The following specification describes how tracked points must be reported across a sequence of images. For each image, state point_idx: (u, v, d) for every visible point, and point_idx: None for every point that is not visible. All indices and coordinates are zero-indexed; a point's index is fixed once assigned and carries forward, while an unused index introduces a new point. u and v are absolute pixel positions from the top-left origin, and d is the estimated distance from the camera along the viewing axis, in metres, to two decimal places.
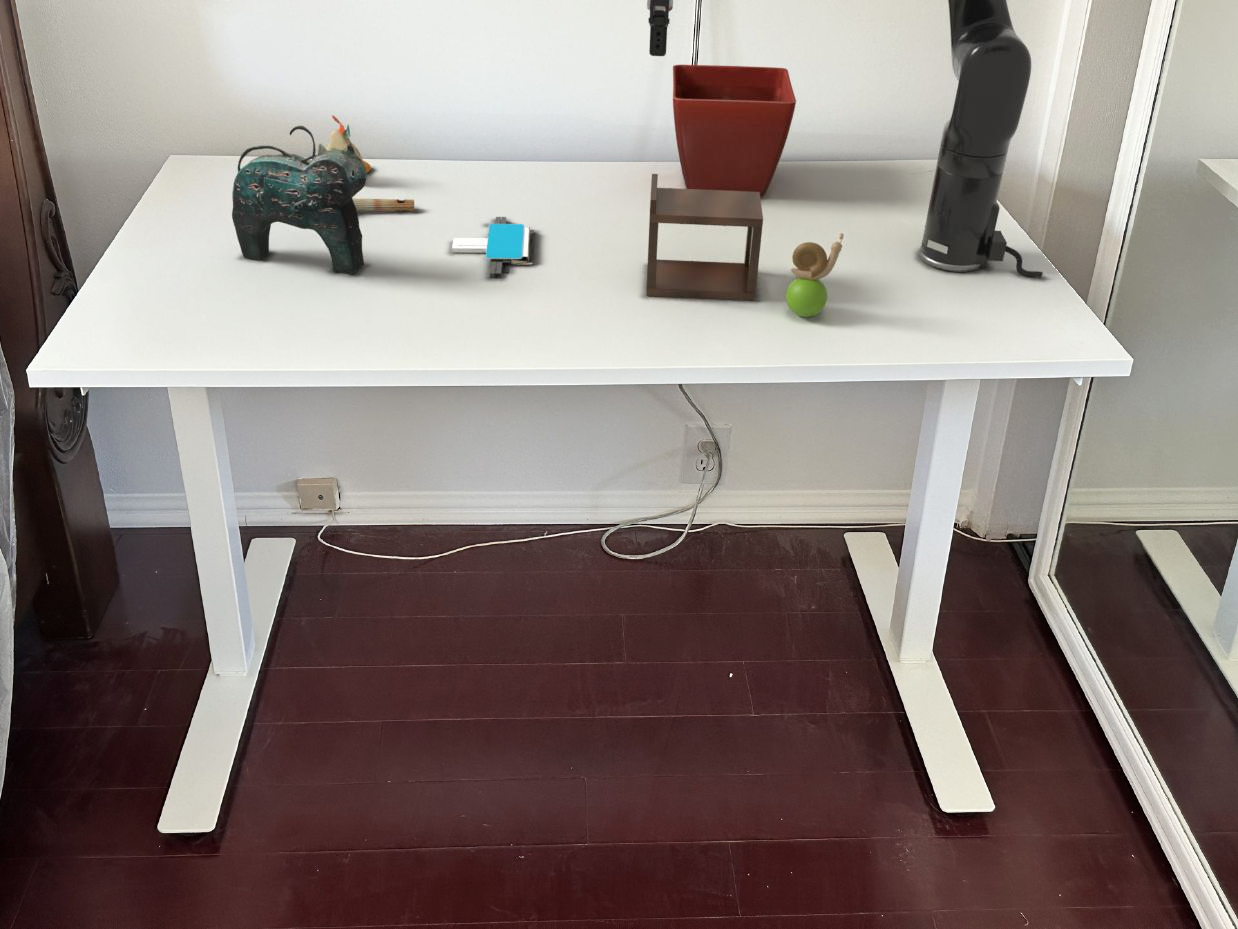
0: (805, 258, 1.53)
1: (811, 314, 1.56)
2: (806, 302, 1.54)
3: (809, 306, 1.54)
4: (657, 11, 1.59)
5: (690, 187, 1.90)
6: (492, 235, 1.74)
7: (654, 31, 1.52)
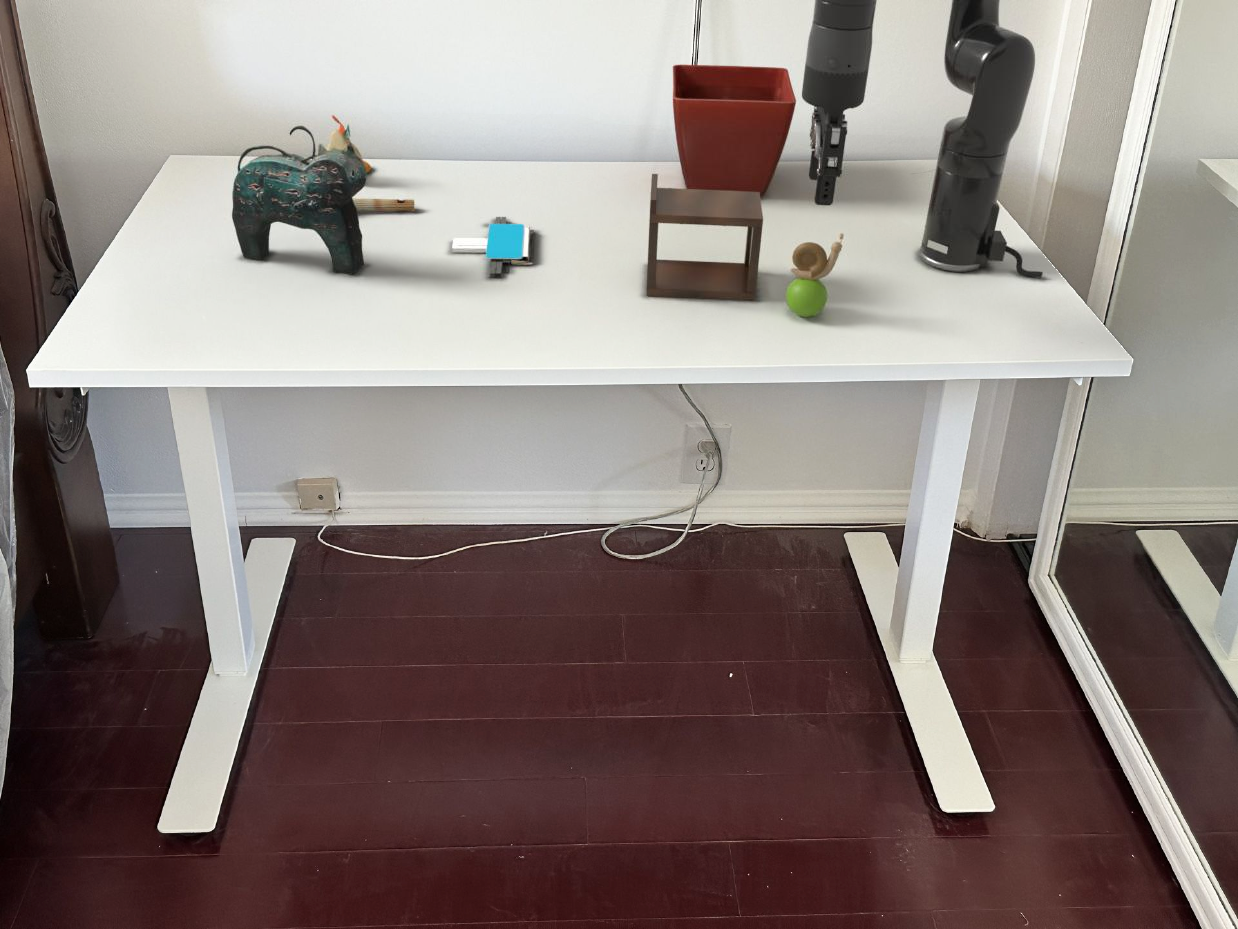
0: (805, 258, 1.53)
1: (811, 314, 1.56)
2: (806, 302, 1.54)
3: (809, 306, 1.54)
4: None
5: (690, 187, 1.90)
6: (492, 235, 1.74)
7: (823, 181, 1.42)
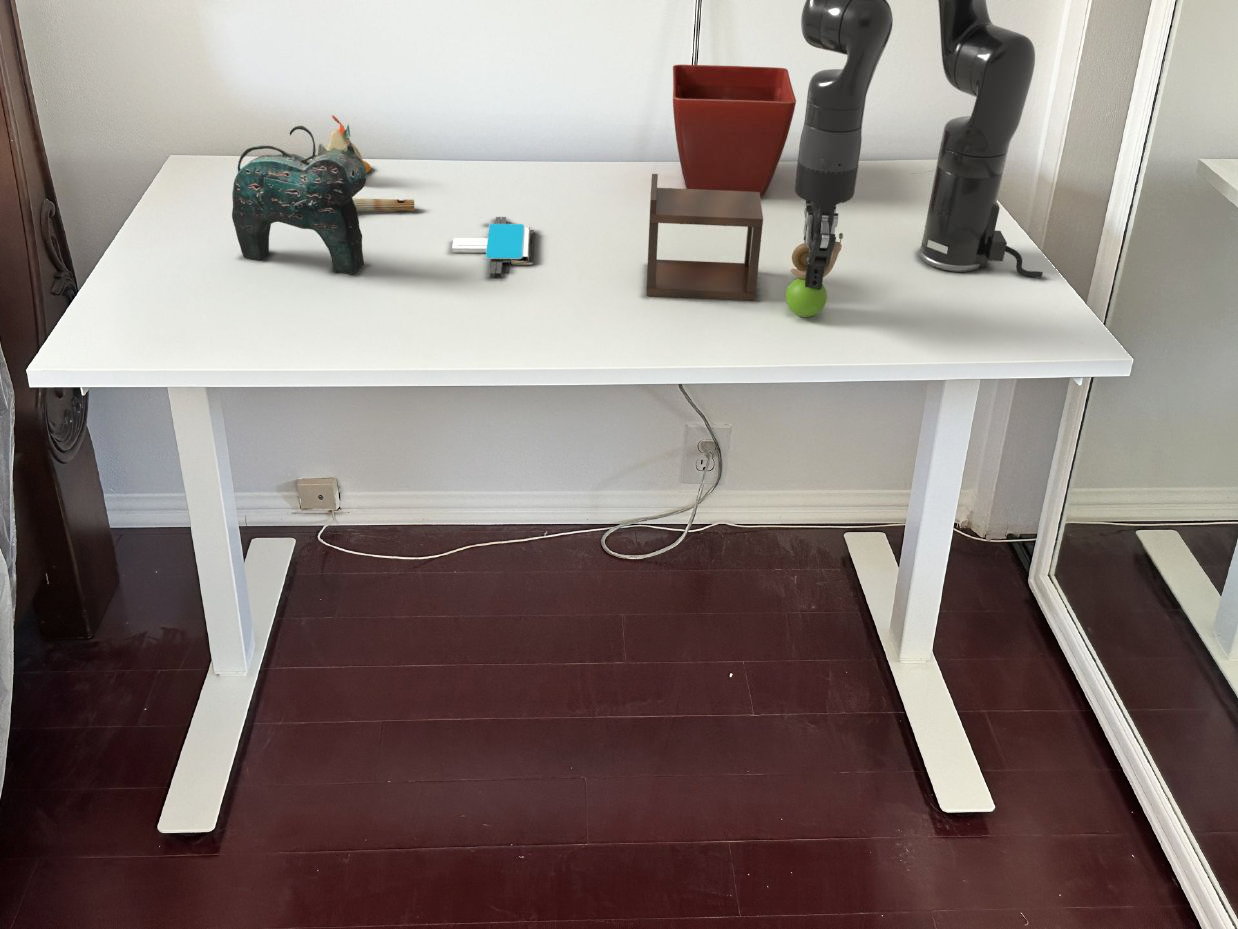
0: (805, 258, 1.53)
1: (811, 314, 1.56)
2: (806, 302, 1.54)
3: (810, 306, 1.54)
4: None
5: (690, 187, 1.90)
6: (492, 235, 1.74)
7: (812, 269, 1.52)
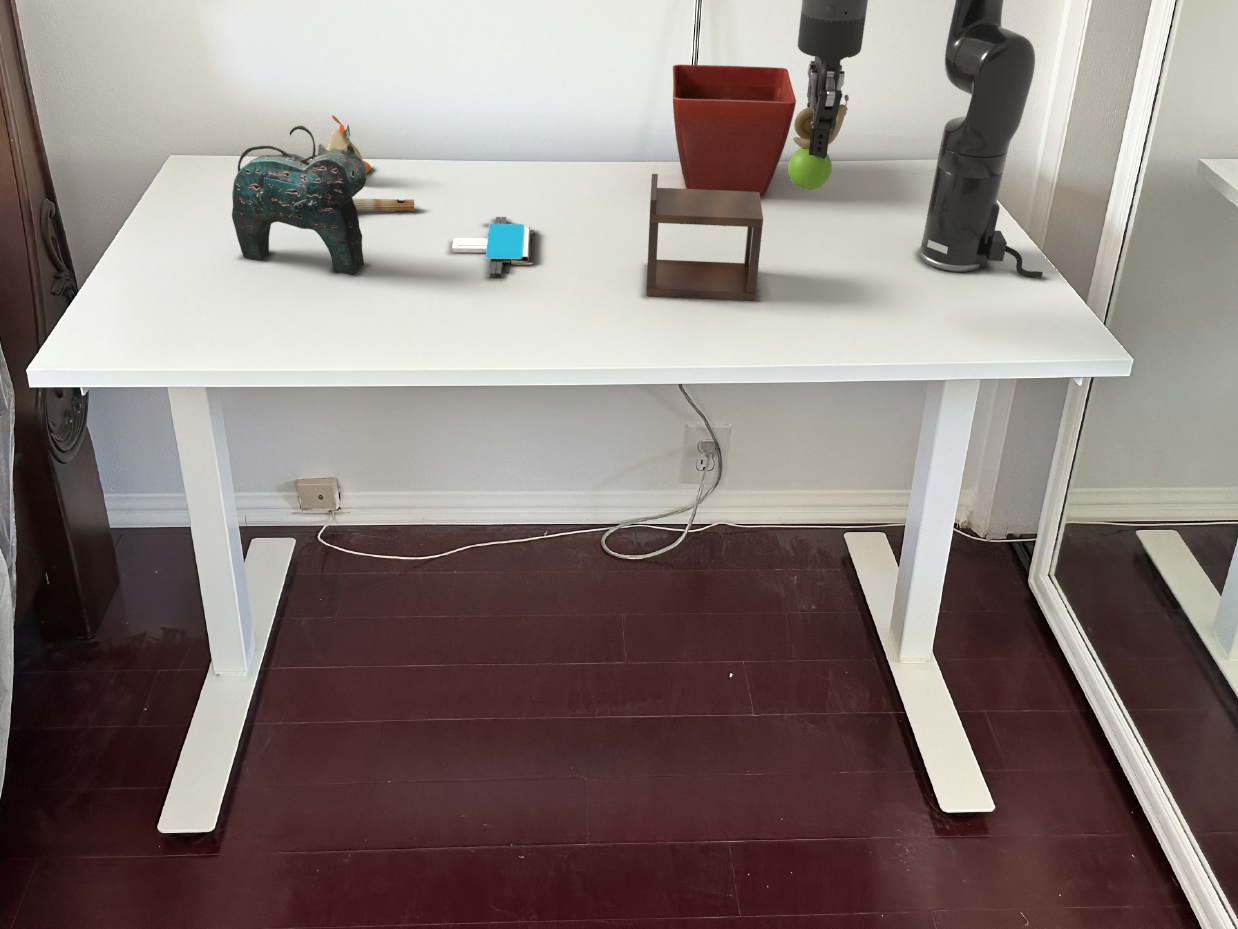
0: (808, 125, 1.44)
1: (816, 186, 1.46)
2: (811, 172, 1.45)
3: (815, 176, 1.45)
4: None
5: (690, 187, 1.90)
6: (492, 235, 1.74)
7: (816, 134, 1.42)
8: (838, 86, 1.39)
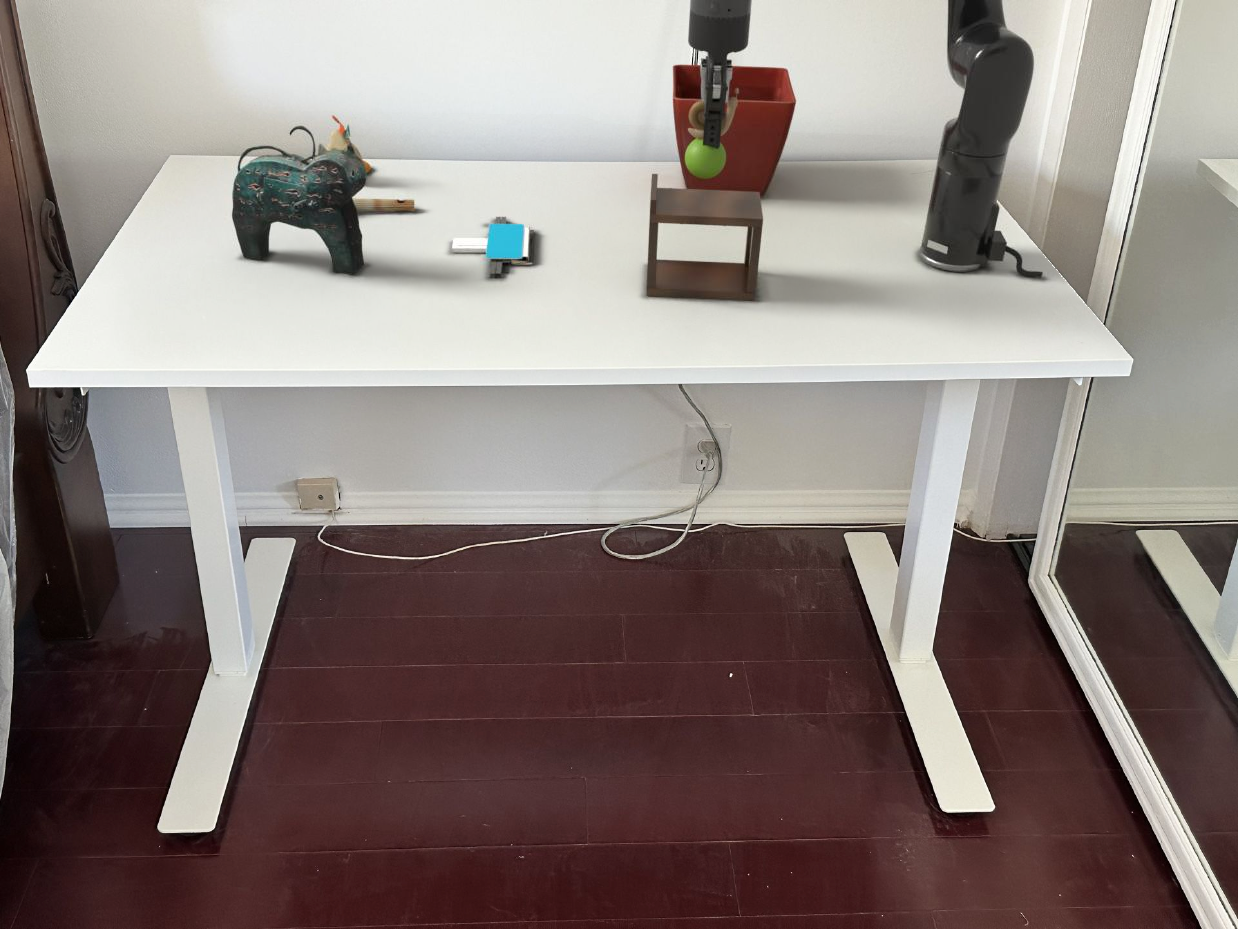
0: (702, 116, 1.51)
1: (711, 175, 1.54)
2: (705, 161, 1.52)
3: (709, 165, 1.53)
4: None
5: (690, 187, 1.90)
6: (492, 235, 1.74)
7: (708, 125, 1.50)
8: (727, 80, 1.47)
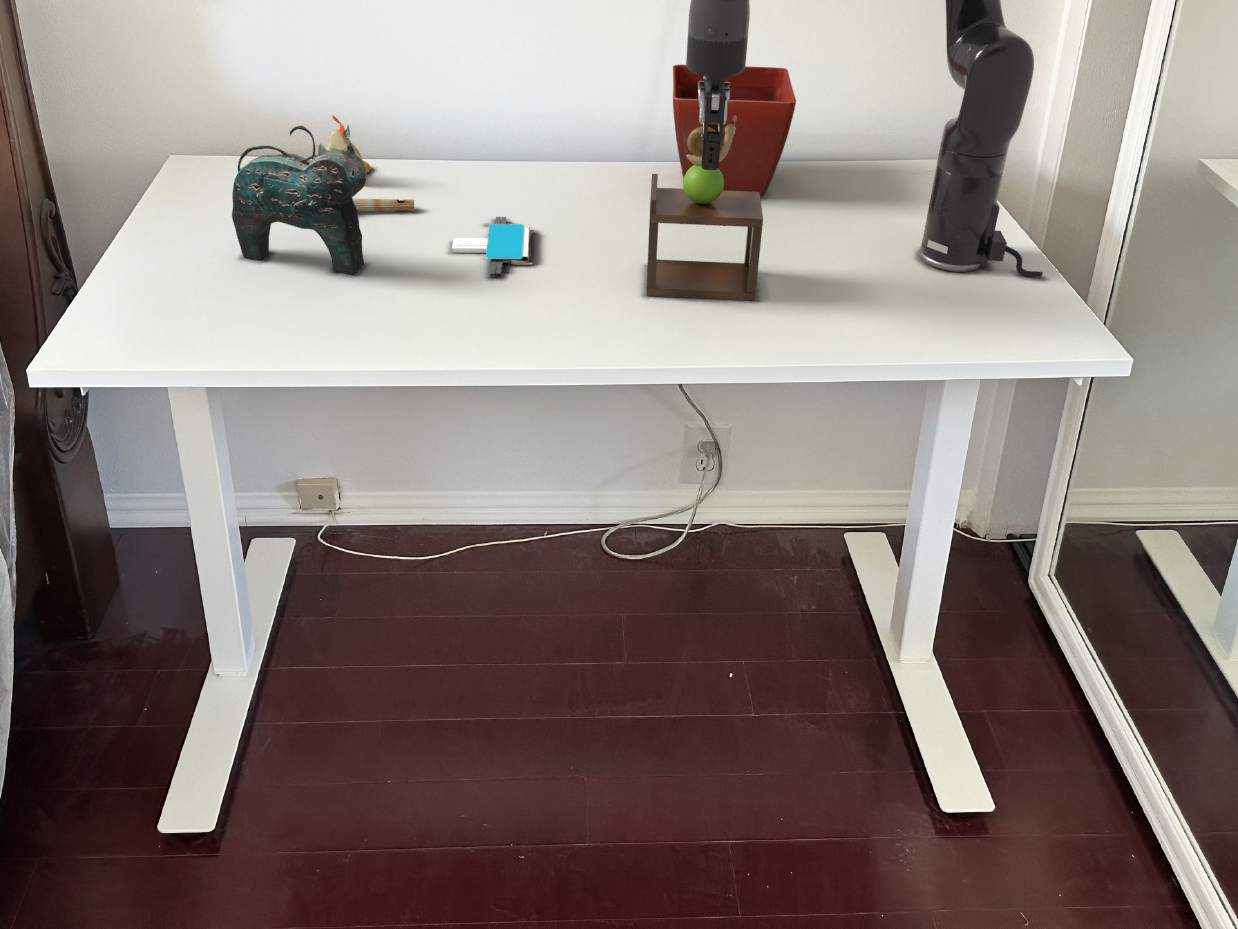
0: (700, 143, 1.53)
1: (709, 200, 1.56)
2: (703, 187, 1.54)
3: (707, 191, 1.55)
4: None
5: None
6: (492, 235, 1.74)
7: (707, 146, 1.48)
8: (725, 99, 1.48)
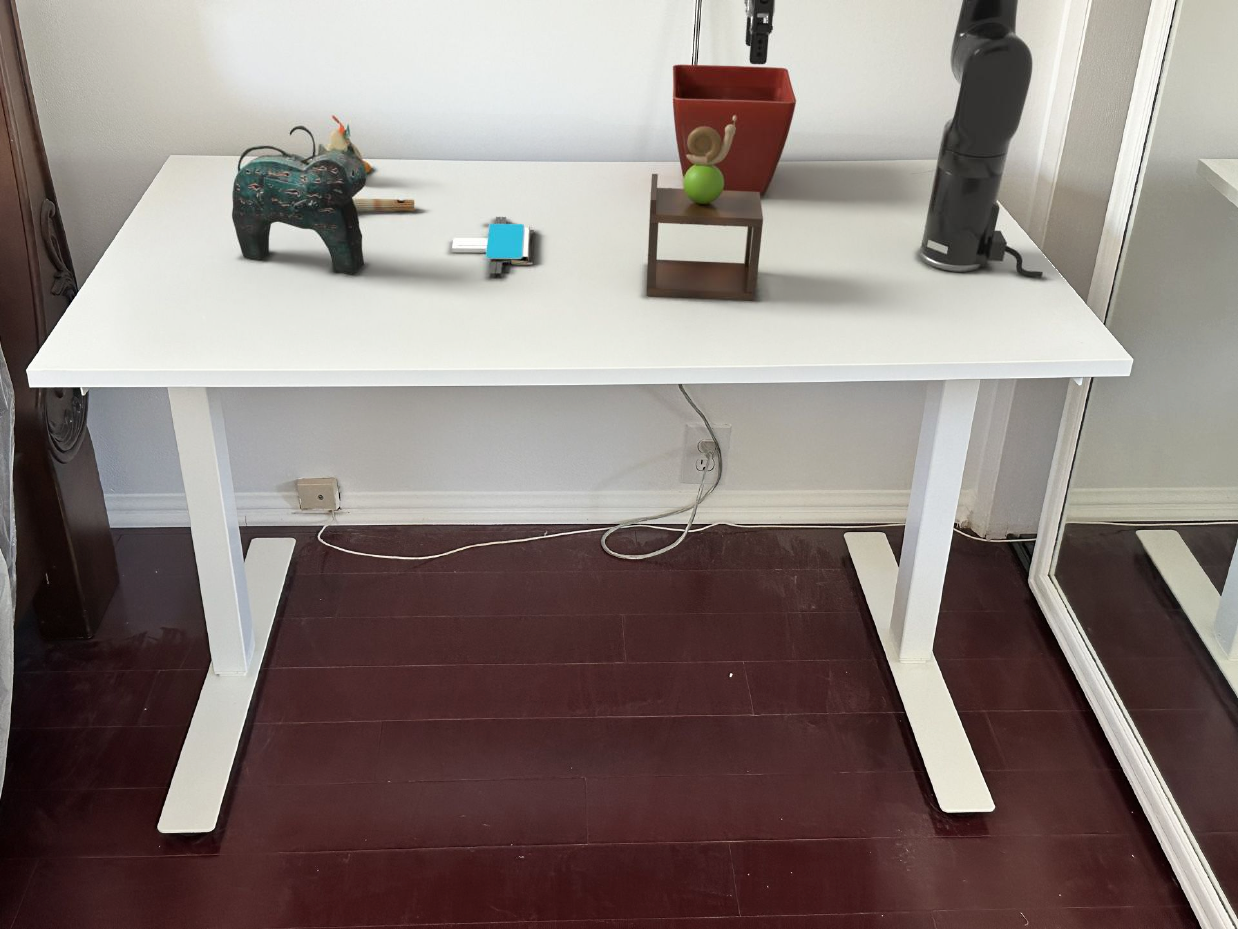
0: (700, 143, 1.53)
1: (709, 200, 1.56)
2: (703, 187, 1.54)
3: (707, 191, 1.55)
4: None
5: None
6: (492, 235, 1.74)
7: (756, 39, 1.49)
8: None
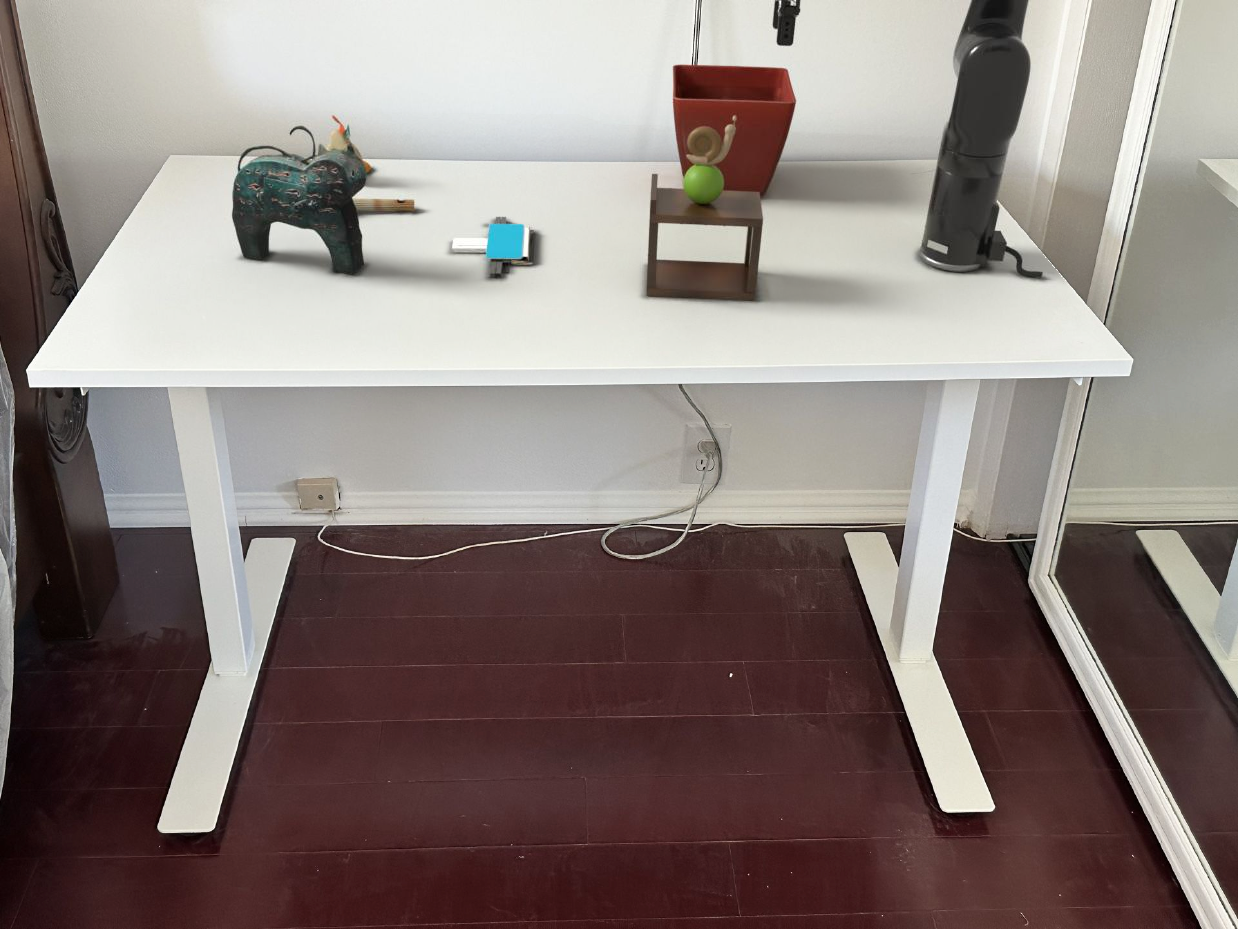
0: (700, 143, 1.53)
1: (709, 200, 1.56)
2: (703, 187, 1.54)
3: (707, 191, 1.55)
4: None
5: None
6: (492, 235, 1.74)
7: (783, 21, 1.54)
8: None
